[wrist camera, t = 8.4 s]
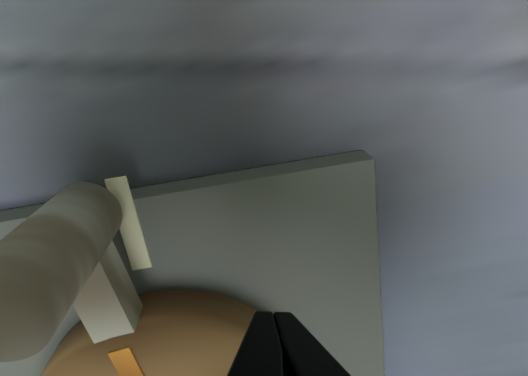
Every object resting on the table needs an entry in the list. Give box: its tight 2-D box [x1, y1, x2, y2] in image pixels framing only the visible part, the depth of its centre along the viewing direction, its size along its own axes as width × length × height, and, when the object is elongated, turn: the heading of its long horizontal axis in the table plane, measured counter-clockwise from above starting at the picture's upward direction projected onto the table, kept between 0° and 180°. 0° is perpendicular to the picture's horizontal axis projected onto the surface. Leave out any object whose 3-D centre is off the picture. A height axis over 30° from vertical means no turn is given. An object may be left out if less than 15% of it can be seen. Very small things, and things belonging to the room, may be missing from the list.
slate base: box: [0, 150, 385, 376], centre depth 19 cm, size 21×20×2 cm
